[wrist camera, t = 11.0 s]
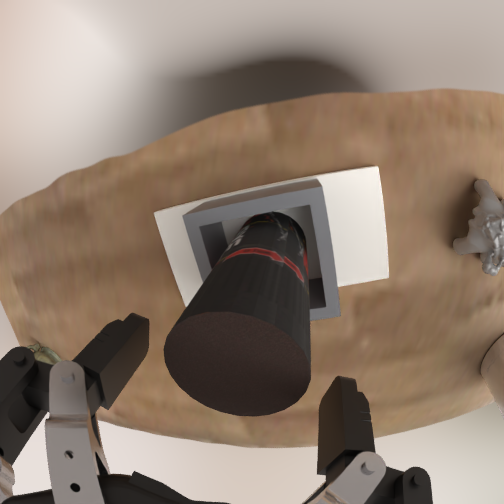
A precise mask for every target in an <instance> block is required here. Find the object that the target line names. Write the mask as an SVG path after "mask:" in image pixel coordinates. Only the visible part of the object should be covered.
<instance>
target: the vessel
mask: <svg viewBox="0 0 504 504" xmlns="http://www.w3.org/2000/svg"><path fill="white" fill-rule="evenodd" d="M26 348H29V349H33V350H34V351H35V352H34V356H35V359H36V360H39V361H42V362H45V363H48V364H52V365H55V364H56V363H58V362H61V361H62V360H61V359H60V357H59V356H58V355H57V354H55V353H54V352H53V351H52V350H50V349H49V348H47V347H43V348H42V349H41V352H40V351H39V349H40V345H39V344H35V345H34V346H33V345H30V346H28V347H26Z"/></svg>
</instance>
